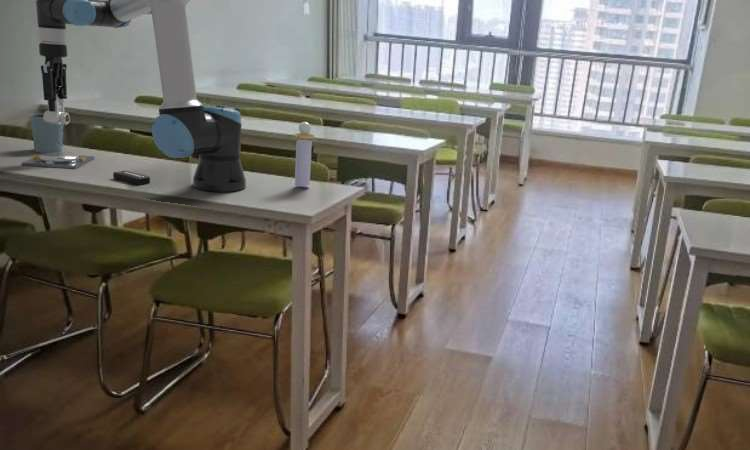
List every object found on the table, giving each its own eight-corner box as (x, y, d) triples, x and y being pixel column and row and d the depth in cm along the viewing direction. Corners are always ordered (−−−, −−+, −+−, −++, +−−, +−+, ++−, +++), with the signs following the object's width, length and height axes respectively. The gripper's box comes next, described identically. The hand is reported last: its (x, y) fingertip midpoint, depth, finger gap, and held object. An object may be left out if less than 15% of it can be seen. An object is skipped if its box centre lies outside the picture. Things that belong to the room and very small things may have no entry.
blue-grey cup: (25, 150, 218) (22, 114, 215) (48, 146, 228) (45, 112, 224) (50, 154, 216) (48, 118, 212) (72, 150, 225) (70, 115, 222)
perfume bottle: (303, 190, 195) (306, 123, 190) (288, 187, 198) (291, 121, 193) (315, 187, 200) (318, 122, 194) (300, 184, 203) (303, 120, 197)
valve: (62, 126, 200) (60, 87, 196) (41, 124, 200) (38, 85, 196) (72, 123, 206) (70, 85, 203) (51, 122, 206) (49, 83, 203)
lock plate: (76, 168, 199) (75, 162, 199) (21, 165, 198) (21, 158, 197) (94, 158, 214) (94, 152, 214) (44, 155, 213) (43, 149, 213)
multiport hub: (138, 186, 186) (137, 178, 185) (112, 180, 191) (112, 172, 190) (150, 184, 189) (150, 176, 189) (125, 177, 195) (125, 170, 194)
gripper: (51, 41, 204) (55, 116, 210) (27, 42, 188) (32, 123, 194) (76, 43, 204) (79, 118, 211) (54, 44, 188) (58, 125, 195)
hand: (56, 120), depth 203 cm, fingers closed on valve, 4 cm apart
